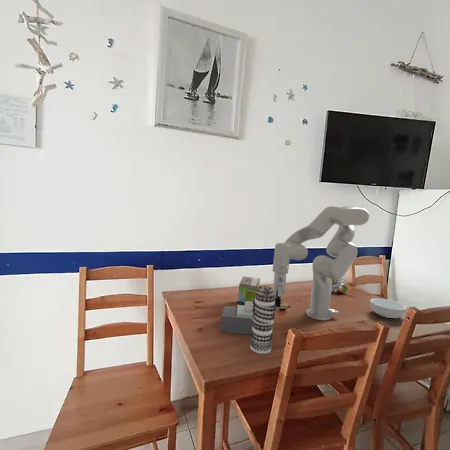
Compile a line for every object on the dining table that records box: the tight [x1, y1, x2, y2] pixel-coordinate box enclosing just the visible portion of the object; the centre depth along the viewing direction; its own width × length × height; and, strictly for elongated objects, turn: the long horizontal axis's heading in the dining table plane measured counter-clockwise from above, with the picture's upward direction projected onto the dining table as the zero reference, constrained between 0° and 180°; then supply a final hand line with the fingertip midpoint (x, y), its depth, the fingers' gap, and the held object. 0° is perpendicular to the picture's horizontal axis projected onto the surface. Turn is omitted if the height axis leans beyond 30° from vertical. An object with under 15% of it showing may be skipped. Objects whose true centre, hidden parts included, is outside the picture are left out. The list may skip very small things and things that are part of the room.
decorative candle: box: [249, 285, 276, 355], centre depth 119 cm, size 9×9×25 cm
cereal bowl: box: [369, 297, 407, 319], centre depth 162 cm, size 17×17×7 cm
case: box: [220, 305, 253, 336], centre depth 136 cm, size 17×12×7 cm
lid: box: [237, 301, 255, 319], centre depth 136 cm, size 10×10×5 cm
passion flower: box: [331, 278, 350, 296], centre depth 197 cm, size 13×12×14 cm
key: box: [273, 303, 289, 313], centre depth 147 cm, size 11×2×3 cm, turn 85°
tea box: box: [236, 275, 261, 307], centre depth 161 cm, size 15×10×15 cm
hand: (276, 305), depth 146 cm, fingers closed on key, 2 cm apart
